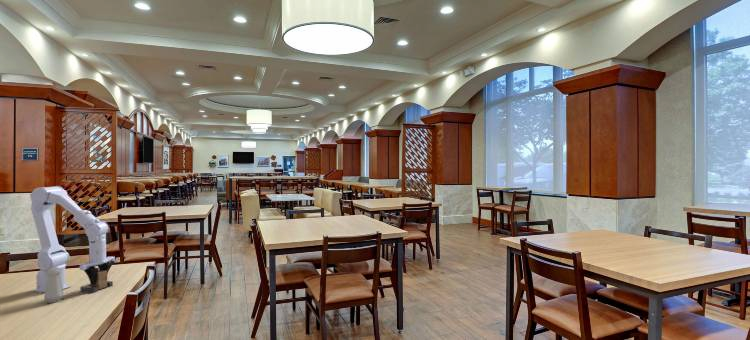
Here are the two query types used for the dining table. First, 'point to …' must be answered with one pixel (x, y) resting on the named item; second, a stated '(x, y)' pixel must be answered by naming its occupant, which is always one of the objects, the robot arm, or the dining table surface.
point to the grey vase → (53, 286)
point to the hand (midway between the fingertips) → (98, 282)
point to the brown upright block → (101, 279)
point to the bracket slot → (93, 287)
